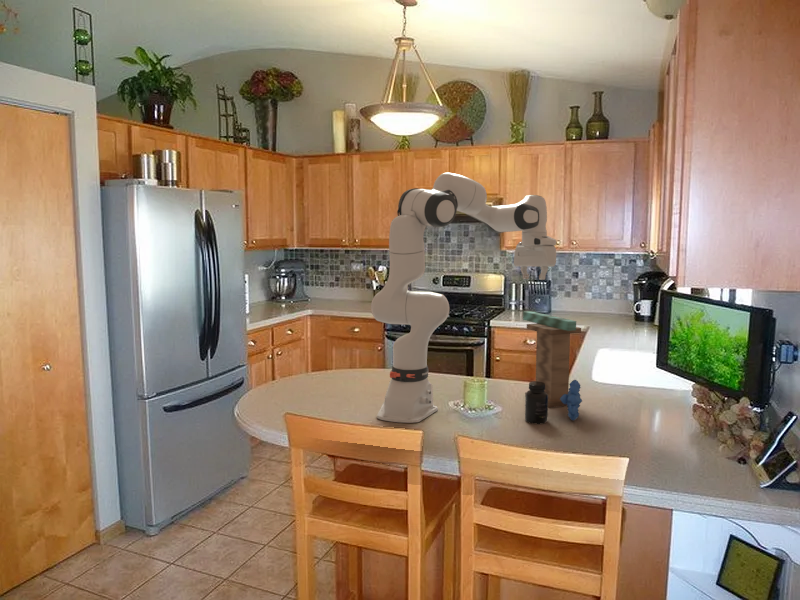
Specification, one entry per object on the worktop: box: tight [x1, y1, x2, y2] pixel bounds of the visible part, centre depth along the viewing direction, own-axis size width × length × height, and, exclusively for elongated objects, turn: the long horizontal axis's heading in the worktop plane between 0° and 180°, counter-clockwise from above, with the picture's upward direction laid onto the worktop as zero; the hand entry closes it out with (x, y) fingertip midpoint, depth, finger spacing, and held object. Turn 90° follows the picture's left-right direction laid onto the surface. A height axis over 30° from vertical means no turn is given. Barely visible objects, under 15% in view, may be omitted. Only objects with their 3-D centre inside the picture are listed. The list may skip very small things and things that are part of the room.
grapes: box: [560, 379, 583, 421], centre depth 185 cm, size 12×7×12 cm, turn 160°
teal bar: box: [522, 310, 577, 331], centre depth 204 cm, size 26×3×3 cm, turn 22°
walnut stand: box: [524, 323, 582, 409], centre depth 203 cm, size 14×12×26 cm
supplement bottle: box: [524, 380, 549, 425], centre depth 182 cm, size 7×7×12 cm
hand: (533, 279), depth 215 cm, fingers open, 8 cm apart
